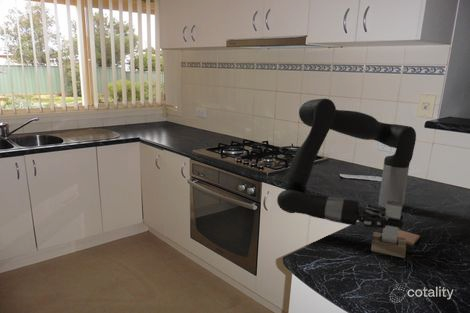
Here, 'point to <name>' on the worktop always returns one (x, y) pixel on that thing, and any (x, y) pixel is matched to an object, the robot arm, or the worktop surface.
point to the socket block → (388, 246)
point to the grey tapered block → (389, 231)
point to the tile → (408, 237)
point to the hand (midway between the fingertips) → (402, 221)
